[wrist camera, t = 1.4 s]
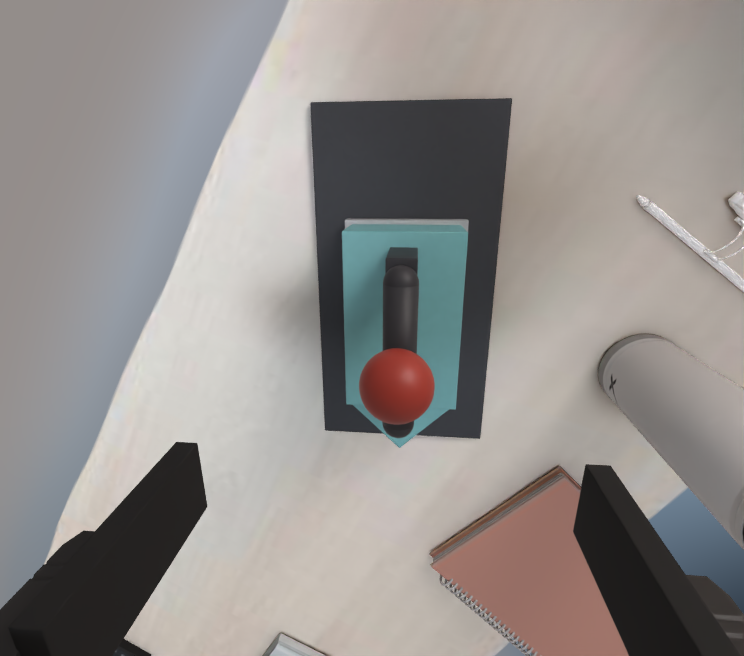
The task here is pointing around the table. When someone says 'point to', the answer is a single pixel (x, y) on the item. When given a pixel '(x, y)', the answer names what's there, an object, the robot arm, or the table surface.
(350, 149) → the ironing mat
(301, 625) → the table surface
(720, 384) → the travel mug
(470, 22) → the table surface
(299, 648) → the hard drive
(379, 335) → the iron
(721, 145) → the table surface
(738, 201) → the picture light
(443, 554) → the notebook
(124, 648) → the calculator
